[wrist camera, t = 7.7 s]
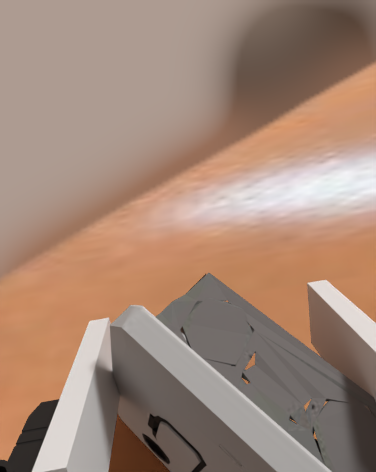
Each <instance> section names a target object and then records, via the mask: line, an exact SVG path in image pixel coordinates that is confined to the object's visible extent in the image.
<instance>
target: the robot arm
mask: <svg viewBox="0 0 376 472" xmlns="http://www.w3.org/2000/svg"><path fill="white" fill-rule="evenodd" d="M307 287H308V301H309V316H310V331H311V343H312V344H313V346H314V347H315V349H316V350H317V351H318V353H319V354H320V356H321V357H322V358H323V359H324V360H325V361H326V362H328V363H329V364H330V365H332V366H333V367H334V368H336V369H337V370H338V371H340V372H341V373H342V374H344V375H345V376H346V377H348V378H349V379H350V380H352V381H353V382H354V383H356V384H357V385H358V386H359V387H361V388H362V389H363V390H365V391H366V392H367V393H369V394H370V395H371V396H373V397H374V399H375V401H376V323H375V322H374V321H373V320H371V319H370V318H369V317H368V316H367V315H366V314H365V313H363V312H362V311H361V310H360V309H359V308H358V307H357V306H355V305H354V304H353V303H352V302H351V301H350V300H349V299H347V298H346V297H345V296H344V295H343V294H342V293H341V292H339V291H338V290H337V289H336V288H335V287H334V286H332V285H331V284H330V283H329V282H328V281H327V280H322V281H316V282H310V283H307ZM110 325H111V324H110V320H109V318H105V319H99V320H93V321H90V322H89V324H88V327H87V329H86V332H85V335H84V337H83V340H82V342H81V345H80V348H79V350H78V353H77V355H76V358H75V361H74V363H73V366H72V368H71V371H70V374H69V376H68V379H67V381H66V384H65V387H64V389H63V392H62V394H61V397H60V399H58V400H53V401H47V402H41V404H40V405H39V406H38V407H37V408H36V409H35V410H34V411H33V412H32V413H31V414H30V416H29V417H28V419H27V421H26V423H25V426H24V428H23V430H22V434H20V436H19V438H18V440H17V443H16V446H15V447H14V449H13V451H12V453H11V455H10V457H9V460H8V462H7V461H5V460H0V472H108V471H109V464H110V458H111V451H112V445H113V439H114V432H115V426H116V419H117V413H118V407H119V400H120V394H119V391H118V389H117V386H116V383H115V380H114V376H113V372H112V357H111V339H110ZM365 407H366V408H367V409H368V410H369V408H368V407H367V406H365ZM369 411H370V410H369ZM370 412H371V411H370Z"/></svg>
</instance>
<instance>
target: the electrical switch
mask: <svg viewBox="0 0 376 472" xmlns="http://www.w3.org/2000/svg"><path fill="white" fill-rule="evenodd" d="M206 274H207V273H206ZM206 274H205V275H204V276H203V277H202V278H201V279H200V280H199V281H198V282H197V283H196V284H195V285H194V286H193V287H192V288H191V289H190V290H189V291H188V292H187V293H186V294H185V295H183V296H182V297H180V298H178V299H176V300H175V301H173V302H171V303H170V304H169V305H168V306H167V307H166V308H165V309H164V310H163V311H162V312H161V313H160V314H159V315H157V316H156V317H155V316H154V315H152V314H151V313H150V312H149V311H148V310H147V309H146V308H144V307H143V306H139V305H130V306H129V307H128V308H127V309H126V310H125V311H124V312H123V313H122V314H121V315H120V316H119V317H118V318H117V319H116V320H115V321H114V322H113V323H112V324H111V325H110V339H111V357H112V372H113V376H114V380H115V383H116V386H117V389H118V391H119V394H120V400H119V407H118V415H119V417H120V418H121V420H122V421H123V422H124V423H125V424H126V425H127V426H128V427H129V428H130V429H131V430H132V431H133V433H134V434H135V435H136V436H137V437H138V438H139V439H140V440H141V441H142V442H143V443H144V444H145V445H146V446H147V447H148V448H149V449H150V450H151V452H152V453H153V454H154V455H155V456H156V457H157V458H158V459H159V460H160V461H161V462H162V463H163V464H164V465H165V466H166V467H167V468H168V469H169V471H170V472H376V401H375V399H374V397H373V396H371V395H370V394H369V393H367V392H366V391H365V390H363V389H362V388H361V387H359V386H358V385H357V384H356V383H354V382H353V381H352V380H350V379H349V378H348V377H346V376H345V375H344V374H342V373H341V372H340V371H338V370H337V369H336V368H334V367H333V366H332V365H330V364H329V363H328V362H326V361H325V360H324V359H322V358H321V357H320V356H319V355H317V354H316V353H315V352H313V351H312V350H311V349H309V348H308V347H307V346H305V345H304V344H303V343H301V342H300V341H299V340H297V339H296V338H295V337H293V336H292V335H291V334H289V333H288V332H287V331H285V330H284V329H283V328H281V327H280V326H279V325H278V324H276V323H275V322H274V321H272V320H271V319H270V318H268V317H267V316H266V315H264V314H263V313H262V312H260V311H259V310H258V309H256V308H255V307H254V306H252V305H251V304H250V303H248V302H247V301H246V300H244V299H243V298H242V297H241V296H239V295H238V294H237V293H235V292H234V291H233V290H231V289H230V288H229V287H227V286H226V285H225V284H223V283H222V282H221V281H219V280H218V279H217V278H215V277H214V276H213V275H211V274H210V273H208V274H207V275H206ZM226 300H228V301H229V302H230V303H229V302H224V301H226ZM249 324H250V325H249ZM254 353H256V354H255V365H254V366H252V367H251V368H249V369H247V370H244V369H245V367H246V366H247V364H248V362H249V361H250V359H251V358H252V356H253V354H254ZM241 377H242V378H244V379H245V380H247V381H249V382H251V383H249V382H248V383H249V384H246V383H245V382H244V381H243V379H242V378H241ZM310 399H311V401H310V404H309V406H308V408H307V410H306V412H305V409H304V405H305V404H306V403H307V402H308V401H309V400H310ZM325 401H328V402H327V403H326V404H325V405H324V403H325ZM323 405H324V406H323ZM365 406H367V407H368V408H369V410H370V411H371V412H370V411H369V410H368V409H367V408H366V407H365ZM290 419H291V420H290ZM292 420H294V421H296V423H297V424H296V423H295V422H293V421H292ZM314 431H315V434H316V437H317V440H318V441H317V440H316V439H314V437H313V435H314Z"/></svg>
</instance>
